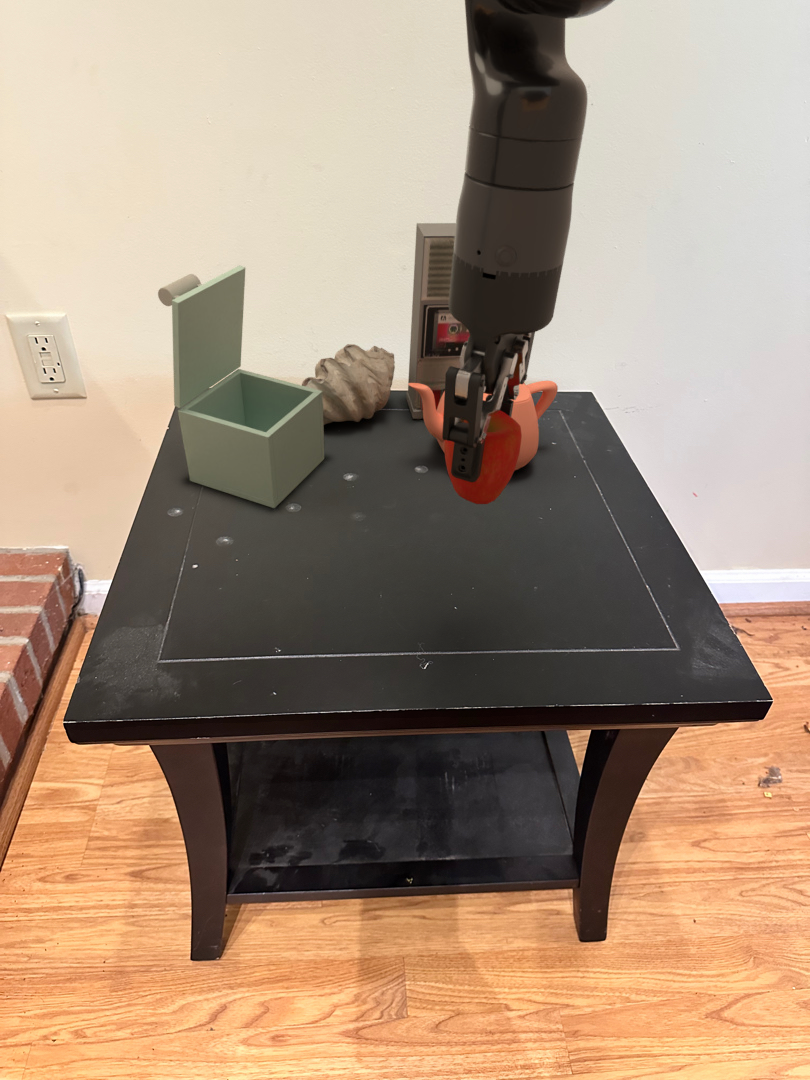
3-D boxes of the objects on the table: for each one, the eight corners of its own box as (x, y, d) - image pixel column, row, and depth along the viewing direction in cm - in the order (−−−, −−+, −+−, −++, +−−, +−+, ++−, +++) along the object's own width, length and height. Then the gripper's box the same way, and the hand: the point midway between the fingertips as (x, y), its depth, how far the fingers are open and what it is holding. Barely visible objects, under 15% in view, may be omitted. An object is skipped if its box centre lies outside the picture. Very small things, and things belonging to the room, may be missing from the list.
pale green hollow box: (324, 458, 94) (322, 390, 88) (274, 508, 86) (268, 437, 80) (245, 435, 98) (238, 368, 92) (189, 481, 89) (177, 410, 83)
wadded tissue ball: (406, 430, 101) (409, 364, 94) (298, 440, 98) (294, 371, 91) (390, 395, 108) (392, 331, 102) (289, 402, 105) (285, 337, 99)
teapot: (390, 439, 99) (393, 355, 91) (526, 423, 104) (539, 342, 96) (419, 495, 89) (425, 407, 81) (567, 475, 94) (586, 390, 86)
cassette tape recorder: (413, 421, 103) (423, 238, 87) (406, 400, 107) (415, 223, 92) (507, 417, 105) (534, 238, 89) (496, 396, 110) (521, 222, 94)
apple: (439, 470, 65) (447, 394, 60) (508, 475, 65) (521, 399, 60) (439, 512, 60) (447, 433, 55) (513, 518, 60) (528, 439, 55)
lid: (245, 267, 83) (205, 251, 84) (178, 302, 74) (134, 284, 75) (240, 366, 91) (204, 350, 92) (179, 408, 83) (140, 390, 84)
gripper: (492, 214, 56) (468, 408, 66) (415, 268, 45) (401, 488, 56) (588, 232, 53) (548, 430, 64) (530, 293, 43) (493, 517, 54)
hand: (480, 456), depth 60 cm, fingers closed on apple, 6 cm apart
